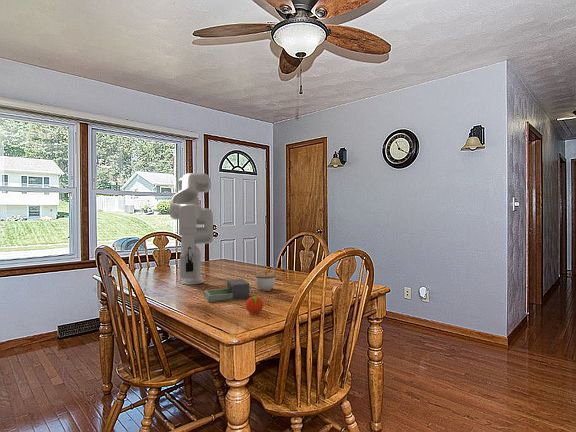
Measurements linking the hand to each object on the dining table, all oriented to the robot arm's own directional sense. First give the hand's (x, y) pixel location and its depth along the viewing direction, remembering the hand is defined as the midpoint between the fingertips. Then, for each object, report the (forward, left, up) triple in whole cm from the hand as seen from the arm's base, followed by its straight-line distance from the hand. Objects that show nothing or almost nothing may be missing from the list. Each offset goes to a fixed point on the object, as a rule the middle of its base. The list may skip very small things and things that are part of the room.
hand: (188, 269), depth 165 cm
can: (0, 0, -4) cm, 4 cm away
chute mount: (+1, +17, -14) cm, 23 cm away
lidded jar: (-8, +40, -15) cm, 43 cm away
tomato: (+32, +22, -15) cm, 41 cm away
